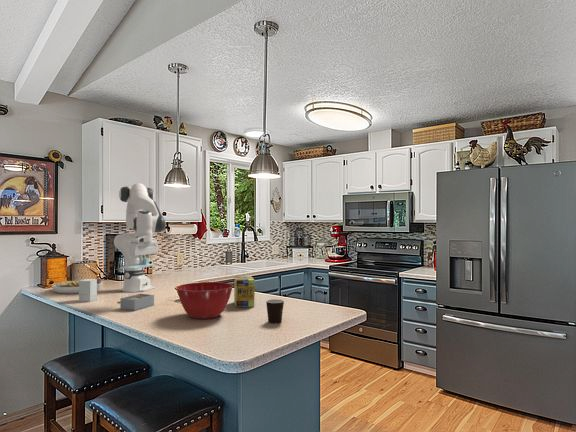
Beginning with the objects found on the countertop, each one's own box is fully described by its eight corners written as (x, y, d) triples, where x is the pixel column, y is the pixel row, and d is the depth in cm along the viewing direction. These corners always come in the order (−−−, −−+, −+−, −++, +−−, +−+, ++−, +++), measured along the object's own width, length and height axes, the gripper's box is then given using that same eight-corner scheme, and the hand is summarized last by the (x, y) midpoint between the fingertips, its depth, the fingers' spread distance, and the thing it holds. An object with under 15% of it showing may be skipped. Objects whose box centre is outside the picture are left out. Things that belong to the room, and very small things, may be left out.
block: (139, 304, 223) (139, 295, 223) (145, 304, 222) (145, 296, 222) (136, 305, 220) (136, 296, 220) (141, 305, 219) (141, 297, 219)
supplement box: (97, 299, 239) (97, 278, 239) (90, 302, 231) (90, 280, 231) (85, 299, 239) (86, 278, 240) (78, 301, 232) (78, 280, 232)
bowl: (49, 296, 249) (49, 284, 249) (55, 288, 276) (55, 277, 277) (101, 293, 261) (101, 281, 261) (102, 285, 289) (102, 275, 289)
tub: (140, 303, 227) (140, 293, 227) (154, 305, 224) (154, 294, 224) (120, 309, 213) (120, 298, 214) (134, 311, 210) (134, 299, 210)
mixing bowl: (172, 312, 208) (172, 283, 208) (225, 307, 219) (225, 280, 220) (180, 325, 182) (180, 292, 182) (239, 319, 193) (239, 288, 194)
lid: (140, 264, 231) (140, 257, 231) (154, 265, 227) (154, 258, 227) (119, 268, 216) (119, 260, 216) (134, 269, 213) (134, 261, 212)
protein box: (236, 308, 219) (236, 280, 219) (234, 302, 234) (234, 276, 234) (254, 307, 221) (254, 279, 221) (251, 301, 236) (251, 275, 236)
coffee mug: (277, 325, 184) (277, 303, 184) (262, 322, 189) (262, 301, 189) (290, 319, 194) (290, 299, 194) (275, 317, 198) (276, 297, 199)
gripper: (152, 237, 237) (152, 260, 238) (127, 239, 218) (126, 264, 219) (160, 237, 235) (160, 260, 235) (135, 239, 216) (135, 264, 216)
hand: (144, 262), depth 227 cm, fingers closed on lid, 2 cm apart
